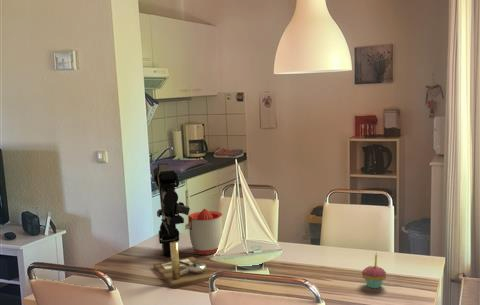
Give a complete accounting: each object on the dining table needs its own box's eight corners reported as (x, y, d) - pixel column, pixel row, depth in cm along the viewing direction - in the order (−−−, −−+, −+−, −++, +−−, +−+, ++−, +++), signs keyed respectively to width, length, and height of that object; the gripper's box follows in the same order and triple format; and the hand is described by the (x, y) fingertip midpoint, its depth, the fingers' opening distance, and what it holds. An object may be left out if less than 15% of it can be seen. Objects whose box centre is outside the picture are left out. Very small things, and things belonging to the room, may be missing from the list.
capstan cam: (151, 270, 197) (148, 237, 195) (179, 260, 207) (177, 228, 206) (180, 281, 184) (178, 245, 182) (209, 269, 194) (207, 235, 193)
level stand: (154, 267, 205) (153, 264, 205) (192, 259, 212) (192, 256, 212) (173, 288, 182) (173, 284, 181) (216, 278, 189) (216, 274, 189)
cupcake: (368, 279, 181) (367, 248, 179) (390, 284, 175) (390, 252, 174) (358, 287, 174) (357, 255, 173) (380, 293, 169) (380, 259, 167)
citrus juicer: (183, 248, 228) (180, 207, 226) (219, 243, 233) (216, 203, 231) (190, 259, 213) (187, 215, 211) (228, 253, 218) (225, 210, 216)
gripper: (194, 201, 198) (197, 238, 200) (179, 193, 214) (182, 227, 216) (168, 205, 193) (171, 243, 195) (155, 197, 210) (158, 232, 212)
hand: (171, 236), depth 205 cm, fingers closed
